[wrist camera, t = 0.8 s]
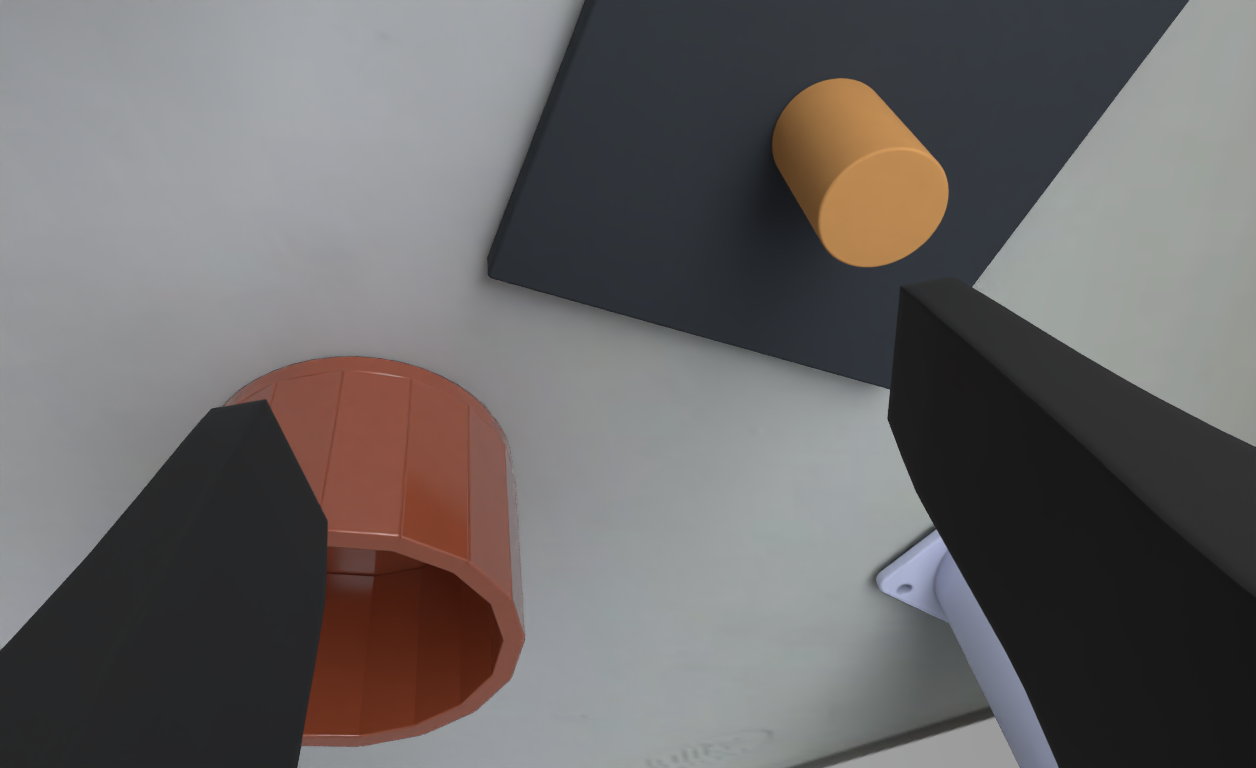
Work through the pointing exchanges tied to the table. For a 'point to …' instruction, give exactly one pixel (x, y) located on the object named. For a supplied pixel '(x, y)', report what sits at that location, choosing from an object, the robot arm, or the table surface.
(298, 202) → the table surface
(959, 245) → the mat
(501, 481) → the cup
